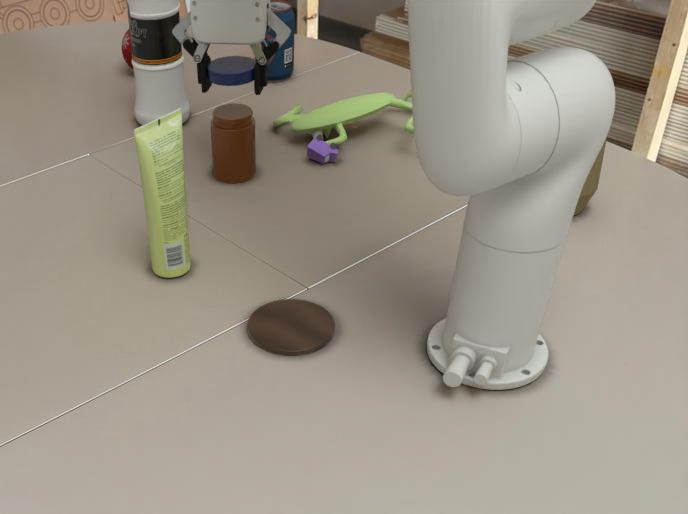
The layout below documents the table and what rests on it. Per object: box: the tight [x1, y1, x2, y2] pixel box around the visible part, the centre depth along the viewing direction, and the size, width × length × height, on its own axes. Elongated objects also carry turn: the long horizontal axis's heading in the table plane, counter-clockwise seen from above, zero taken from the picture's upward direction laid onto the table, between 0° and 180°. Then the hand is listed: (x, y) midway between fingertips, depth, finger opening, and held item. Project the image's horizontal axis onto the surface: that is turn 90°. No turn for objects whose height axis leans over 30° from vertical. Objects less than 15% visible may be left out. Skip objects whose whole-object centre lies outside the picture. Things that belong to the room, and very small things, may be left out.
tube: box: [133, 108, 192, 279], centre depth 98 cm, size 6×5×20 cm
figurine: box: [272, 89, 414, 165], centre depth 127 cm, size 18×27×6 cm
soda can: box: [254, 0, 296, 83], centre depth 145 cm, size 7×7×12 cm
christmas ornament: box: [121, 28, 133, 70], centre depth 150 cm, size 9×9×10 cm
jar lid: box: [207, 55, 256, 87], centre depth 112 cm, size 7×7×2 cm
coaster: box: [247, 298, 336, 356], centre depth 94 cm, size 10×10×1 cm
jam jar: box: [209, 102, 257, 184], centre depth 120 cm, size 6×6×9 cm
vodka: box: [125, 0, 191, 126], centre depth 128 cm, size 9×9×30 cm
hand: (232, 89), depth 114 cm, fingers closed on jar lid, 6 cm apart
